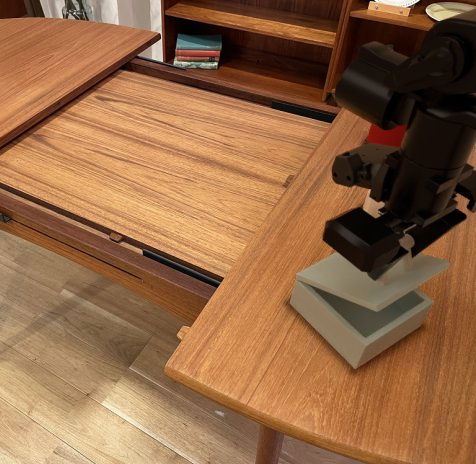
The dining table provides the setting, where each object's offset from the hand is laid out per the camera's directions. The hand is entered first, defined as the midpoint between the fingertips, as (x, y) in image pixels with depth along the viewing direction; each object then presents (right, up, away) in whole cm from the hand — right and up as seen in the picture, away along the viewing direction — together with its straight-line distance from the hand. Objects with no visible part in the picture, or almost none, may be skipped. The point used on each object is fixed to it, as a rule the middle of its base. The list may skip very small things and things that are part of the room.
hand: (388, 268), depth 57 cm
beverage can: (+15, +19, +35) cm, 43 cm away
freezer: (-1, -7, +9) cm, 11 cm away
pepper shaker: (+7, +6, +22) cm, 24 cm away
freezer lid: (-1, -1, +3) cm, 3 cm away
